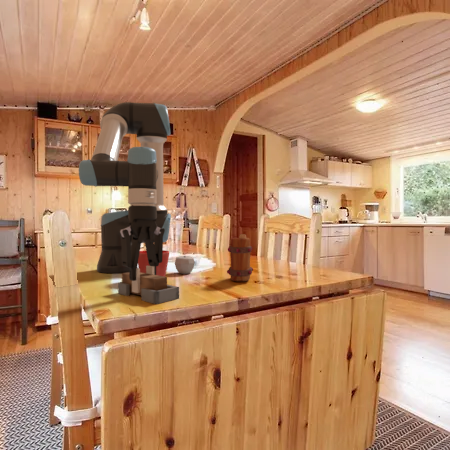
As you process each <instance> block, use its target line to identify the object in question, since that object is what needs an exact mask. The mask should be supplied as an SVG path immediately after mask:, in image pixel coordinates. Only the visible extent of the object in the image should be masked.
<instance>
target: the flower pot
mask: <svg viewBox="0 0 450 450" xmlns="http://www.w3.org/2000/svg"><path fill="white" fill-rule="evenodd" d="M169 256H170V251H169V250H164V249H163V259H162V263H159V265H158V266H156V275H159V276H164V277H166V274H167V270H168V264H169V263H168V262H169V258H170V257H169ZM146 266H150V265H149V263H148V257H147V252H146V250H140V253H139V259H138V265H137V268H140V272H141V273H146Z"/></svg>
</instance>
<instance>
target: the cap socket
mask: <svg viewBox="0 0 450 450" xmlns="http://www.w3.org/2000/svg"><path fill="white" fill-rule="evenodd" d="M140 296H141V301H144V302H146V303H150V304H154V305H159V304H162V303H163V304H164V303H166V302H171V301H174V300H178V299H180V286H175V285H172V284H171V285H170V284H167V289H163V290H158V291H155V290H151V289H147V288H142V289H141V295H140Z"/></svg>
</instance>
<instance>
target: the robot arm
mask: <svg viewBox="0 0 450 450" xmlns="http://www.w3.org/2000/svg"><path fill="white" fill-rule="evenodd" d="M168 112H169V111H168V107H167V105H165V104H161V103H157V102H156V103H155V102H153V103H151V102H150V103H149V102H131V101H129V102H127V101H125V102H120V103H117V104H114V105H113V106H112V107H110V108H109V109H107V110H106V111H105V112H104V113H103V115H102V117H101V120H100V122H99V123H100V124H99V126H100V132H99V135H98V138H97V141H96V144H95V147H94V150H93V152H92V156H91V159H82V160H81V161H80V162H79V165H78V178H79V181H80V183H81V184H82V185H83V186H89V187H90V186H91V187H95V188H96V187H128V191H127V192H128V193H127V194H128V195H127V203H128V204H129V206H128V208H127V209H128V210H121V211H112V212H106V213H103V214H102V216H101V218H100V219H101V220H100V229H101V231H100V233H101V234H100V236H101V237H100V238H101V239H100V240H101V251H100V256H99V258H98V261H97V265H96V272H98V273H104V274H122V273H127V272H129V279H130V280H131V281H132V292H135V293H140V268H139V267H138V259H139V253H140V251H141V248H142V247H141V245H142V244H145V251H146V252H147V257H148V263H149V265H150V266H146V273H147V274H153V275H156V266H158V265H159V263H162V259H163V250H164V249H163V248H164V243H166V242H168V240H169V236H170V235H169V234H170V229H171V228H170V227H171V220H172V219H171V218H172V214H171V213H168V208H166V206H165V205H164V200H165V199H164V198H165V197H164V144H165V142H167V141H168V137H169V136H171V126H170V125H171V124H170V117H169V113H168ZM127 134H128V135H136V140H137V141H138V142H139V143H140V146H134V147H133V146H132V147H130V148H129V149H128V151H127V160H119V157H120V152H121V147H122V142H123V139H124V137H125V136H126V135H127Z"/></svg>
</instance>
